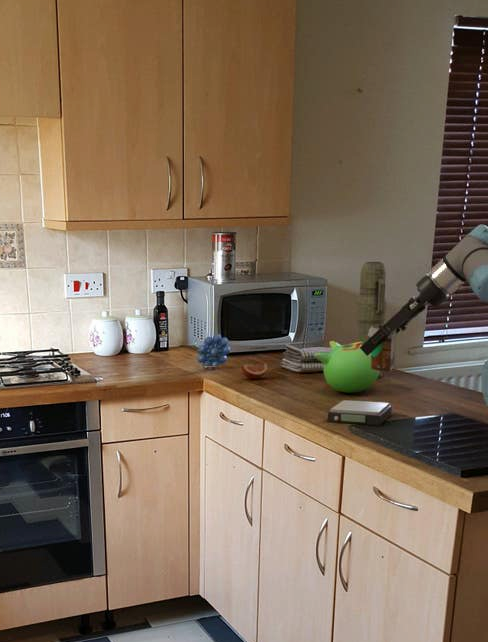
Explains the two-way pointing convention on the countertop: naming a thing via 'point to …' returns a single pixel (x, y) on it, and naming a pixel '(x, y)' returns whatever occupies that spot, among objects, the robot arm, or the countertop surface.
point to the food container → (383, 351)
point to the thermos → (371, 300)
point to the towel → (303, 359)
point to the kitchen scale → (360, 412)
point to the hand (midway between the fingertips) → (370, 348)
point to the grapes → (213, 351)
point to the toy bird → (348, 368)
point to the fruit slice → (254, 370)
